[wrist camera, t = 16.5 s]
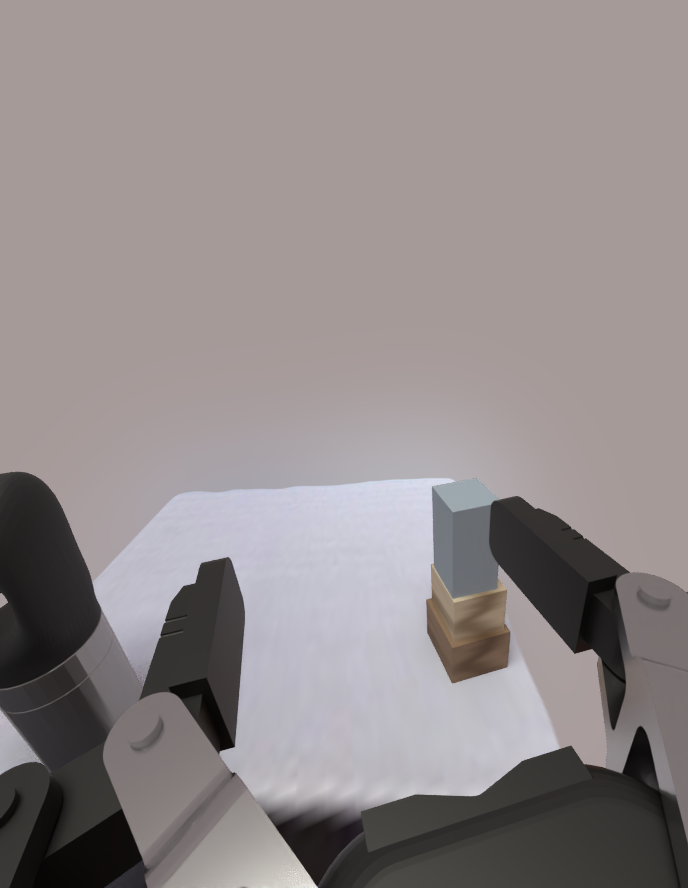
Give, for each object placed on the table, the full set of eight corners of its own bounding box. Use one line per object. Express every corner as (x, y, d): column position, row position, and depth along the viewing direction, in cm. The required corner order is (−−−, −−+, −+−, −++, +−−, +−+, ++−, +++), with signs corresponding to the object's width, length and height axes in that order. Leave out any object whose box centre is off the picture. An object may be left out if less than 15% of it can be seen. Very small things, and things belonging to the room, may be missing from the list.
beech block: (453, 642, 40) (454, 603, 38) (432, 601, 46) (431, 564, 43) (503, 629, 41) (506, 589, 39) (476, 590, 47) (477, 553, 44)
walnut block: (452, 683, 42) (452, 648, 40) (427, 632, 48) (426, 599, 46) (507, 667, 43) (510, 631, 41) (476, 619, 49) (477, 586, 47)
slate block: (452, 599, 38) (452, 512, 34) (434, 566, 43) (432, 486, 39) (496, 589, 39) (502, 502, 35) (473, 558, 43) (476, 477, 39)
